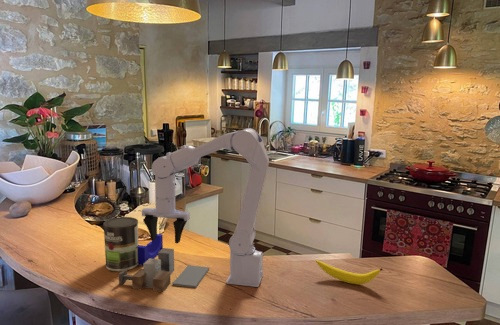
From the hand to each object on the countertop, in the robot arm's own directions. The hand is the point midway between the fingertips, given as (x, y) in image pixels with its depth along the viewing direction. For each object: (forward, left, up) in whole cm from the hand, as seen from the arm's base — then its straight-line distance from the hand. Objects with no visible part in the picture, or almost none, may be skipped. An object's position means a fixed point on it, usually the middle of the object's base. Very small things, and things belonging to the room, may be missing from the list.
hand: (165, 240), depth 109 cm
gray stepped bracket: (0, +2, -10) cm, 10 cm away
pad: (-9, +1, -10) cm, 13 cm away
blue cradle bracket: (+11, -9, -10) cm, 17 cm away
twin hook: (+2, +3, -10) cm, 11 cm away
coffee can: (+16, -2, -10) cm, 19 cm away
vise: (+3, +9, -10) cm, 14 cm away
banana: (-54, -6, -10) cm, 55 cm away
